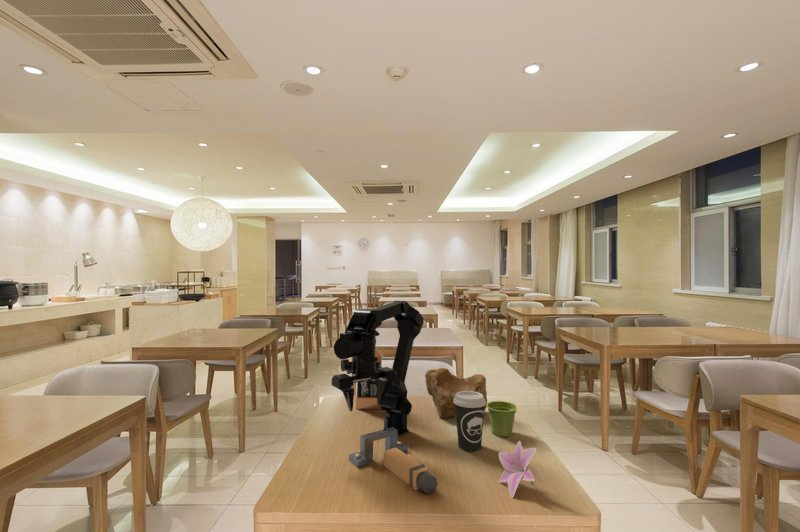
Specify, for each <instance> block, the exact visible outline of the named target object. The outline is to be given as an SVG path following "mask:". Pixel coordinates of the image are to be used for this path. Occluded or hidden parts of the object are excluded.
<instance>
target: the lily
mask: <svg viewBox="0 0 800 532" xmlns="http://www.w3.org/2000/svg"><path fill="white" fill-rule="evenodd" d="M536 452H537V447H530V448H526V449H523V445H522V443H521V440H518V441H517V443H516V446H515V448H514V450H513V452H511V451H500V452H498V458H499V462H500V463H501V466H502V467H503V469H504V470H503V472H502V473H501V474H500V477H499V479H498V483H500V484H501V483H505V482H507V489H508V493H509V496H510V498H511V499H513V498H514V496H515V494H516V491H517V489H518V486H519V484H520V482H521V481H525V482H526V481H528V482H530V483H531V484H533V482H534V481H535V477H534V475H533V472H532V471H531V470H530V468H529V464H530V462H531V461H532V458H533V457H534V455H535V454H536Z"/></svg>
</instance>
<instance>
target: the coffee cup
mask: <svg viewBox="0 0 800 532" xmlns="http://www.w3.org/2000/svg"><path fill="white" fill-rule="evenodd" d="M453 403H454V404H455V411H456V416H455V418H456V419H455V421H456V434H457V443H458V448H459V449H460V450H462V451H465V452H469V453H474V452H478V451H480V450H481V449H482V443H483V441H482V439H483V428H484V427H483V426H484V416H485V415H484V414H485V411H484V406H485V405H486V401H485V399H484V397H483V395H482V394H481V393H478V392H474V391H461V392H458V393H456V396H455V397H454V399H453Z"/></svg>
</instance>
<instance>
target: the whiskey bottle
mask: <svg viewBox="0 0 800 532" xmlns="http://www.w3.org/2000/svg"><path fill="white" fill-rule="evenodd" d="M376 337H377V336H375V357H378V361H375V371H376V370H377V368H383V367H382V363H383V362H382V360H383V356H384V353H383V351H382V350H380V349H378V348H377V347H376V346H377V339H376ZM356 383H357V387H356V390H357V391H356V397H355V409H357V410H381V405H378V404H377V383H376V379H373V380H367V381H362V382H356Z"/></svg>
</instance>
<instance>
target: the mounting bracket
mask: <svg viewBox="0 0 800 532" xmlns="http://www.w3.org/2000/svg"><path fill="white" fill-rule="evenodd" d="M398 435H399V434H398V430H397V429H395V428H393V427H391V428H387V429H380V430H376V431H373V432H369V433H365V434H361V435H359V436H360V437H359V439H360V441H359V445H360V446H359V450H360V451H357V452H353V453H349V454H348V460H349V461H350V462H351V464H353V465H354V466H356V468H360V467H363V466H366V465H368V462H371V461H374V442H375V441H379V440H382V439H384V451H386V450H389V449H392V448H398V449H399V450H401V451H402V452H404V453H406V452H409V446H408V445H407V444H406V443H404V442H402V440H401V441H400V440H399V439H398V438H399V437H398Z"/></svg>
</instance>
